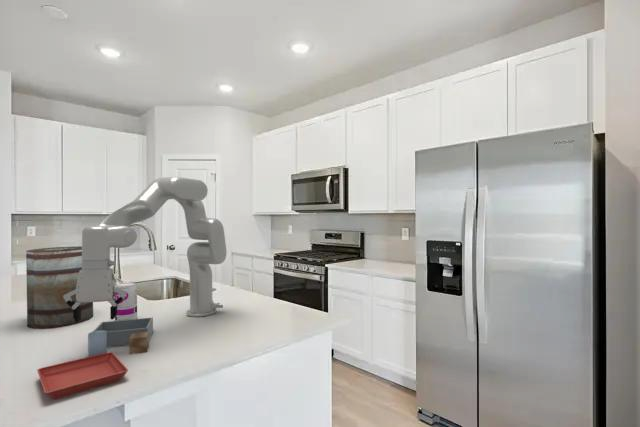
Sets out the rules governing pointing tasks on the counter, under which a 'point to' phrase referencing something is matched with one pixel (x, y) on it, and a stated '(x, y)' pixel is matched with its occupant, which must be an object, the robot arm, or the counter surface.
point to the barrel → (53, 287)
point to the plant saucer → (81, 375)
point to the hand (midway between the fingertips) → (95, 319)
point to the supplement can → (127, 302)
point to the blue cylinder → (97, 343)
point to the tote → (125, 330)
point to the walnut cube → (139, 342)
